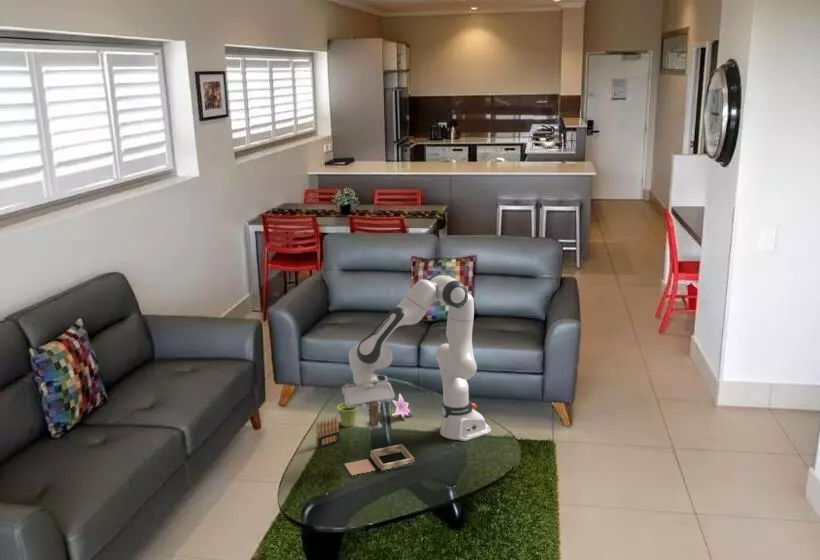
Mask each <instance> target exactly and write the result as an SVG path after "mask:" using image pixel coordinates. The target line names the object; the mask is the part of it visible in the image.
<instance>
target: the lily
mask: <svg viewBox="0 0 820 560" xmlns="http://www.w3.org/2000/svg"><path fill="white" fill-rule="evenodd" d="M391 402H393V404H394V406H395V407H396V409H395V412H394V414H395V415H401V417H402V418H403V416H404V415H406V416H409V415H408V413H409V412H410V411H411V410H410V409H409V408H408V407H409V402H408V401H407V402H406V401H405V399H404V398H403V396H402V394H401V393H399V394H398V401H397V400H394V399H393V400H392V401H391Z"/></svg>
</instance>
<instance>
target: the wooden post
mask: <svg viewBox="0 0 820 560" xmlns="http://www.w3.org/2000/svg"><path fill="white" fill-rule="evenodd" d="M368 407H369V409H368V410H371V411H370V412H371V415H368V416H369V418H368V419H369V421H368V422H367V421H366V422H365V425H366V427H367V428H368V429H369V431H370V430H376V429H382V427H383V425H382V424H381V422H380V421H379V414H378V405H377V404H376V402H372V403H369V405H368Z"/></svg>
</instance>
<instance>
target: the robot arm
mask: <svg viewBox="0 0 820 560" xmlns="http://www.w3.org/2000/svg"><path fill="white" fill-rule="evenodd" d="M437 301H439V302H440V303H443V304H446V305H448V306H447V307H448V313H447V320H446V321H447V322H446V329H445V336H446V339H447V341H448V343H443V344H440V345H439V346H438V348H437V349H436V352H435V359H436V361H437V363H438V367H439V372H440V377H441V381H442V392H443V394H442V395H443V397H442V405H441V407H442V408H441V410H442V421H441V427H440V430H439V434H440V435H441V436H442V437H444V438H447V439H450V440H458V441H462V442H467V441H470V440H473V439H476V438H479V437H482V436H485V435H488V434H489V435H490V433H492V428H491V427H490V425H488V423H486V420H485V418H484V416H483V415H482V414H481V413H480V412H478V411H477V410H476V409H477V407H478V405H477V404H475V402H474V403H473V402H472V401H470V400H469V399H470V397H469V396H470V395H469V390H470V389H469V388H470V387H469V383H468V380H469V379H470V380H471V379H472V378H473V377H474V375H475V374H476V372H477V370H478V365H477V362H476V360H475V356H474V349H473V348H474V347H473V341H472V340H473V328H474V327H473V326H474V320H475V319H474V315H475V304H474V303H475V302H474V301H475V300H474V297H473V296H472V294H470V293H469V292H468V290H467V288H466V286H465V285H464V284H463V283H462V281H459V280H457V279H456V278H453V277H451V276H448V275H446V274H443V273H437V274H433V275H432V276H430V277H429V278H428V279H425V278H424V279H423V278H422V279H419V280H418V281H416V283H415V284H413V286H411V288H410V289H409V290H408V291H407V293H406V294H405V296H404V297H403V298H402V299H401V300H400V302H399V303H398V304H397V306H395V307H394V308H393V309H391V310H390V311H389V312H388V313H387V314H386V315H385V316H384V318H383V319H382V320H381V321H380V322H379V323H378V325H377V326H376V327H375V328H374V329H373V331H372V332H371V333H369V334H368V335H367V336H366V337H365V338H363V339H361V341H360V342H359V343H358V344H355V345H353V346H352V347H350V349H349V351H348V359H349V361H348V362H349V366H350V370H351V372H352V379H353V382H354V383H352V384H351V383H350V384H345V385H344V386H343V387H342V388H341V391H342V394H343V396H344V403H345V405H346V407H348V408H351V407H358V408H359V407H361V409H362V410H363V411H364V412H365V414H366V416H369V415H371V412H370V411H371V410H369V409H368V407H367V406H369V403H372V402H376V404H377V405H378V415H379V414H381V409H380V408H381V406H382V405H381V404H382V403H388V402H393V401H392V400H394V399H395V391H394V389H393V386H392V385H391V383H390V382H389V380H388V376H387V375H383V374H377V373H375V371H376V372H377V371H381V370H384V369H387V368H389V367H390V366H391V364H392V363H393V359H394V354H393V351H392V350H391V349H390V348H389V347H387V346H386V345H384V343H385V342H386V341H387V339H388V338H389V337H390V336H391V334H392V333H393V332H394V331H395V330H396V329H397V328H399V327H402V326H406V325H407V326H412V325H415V324H418V323H419V322H420V321H421V320H422V319H423V318H424V316H425V315H426V314H427V312H428V311H429V309H430V307H431V305H433V304H434V303H435V302H437Z"/></svg>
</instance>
